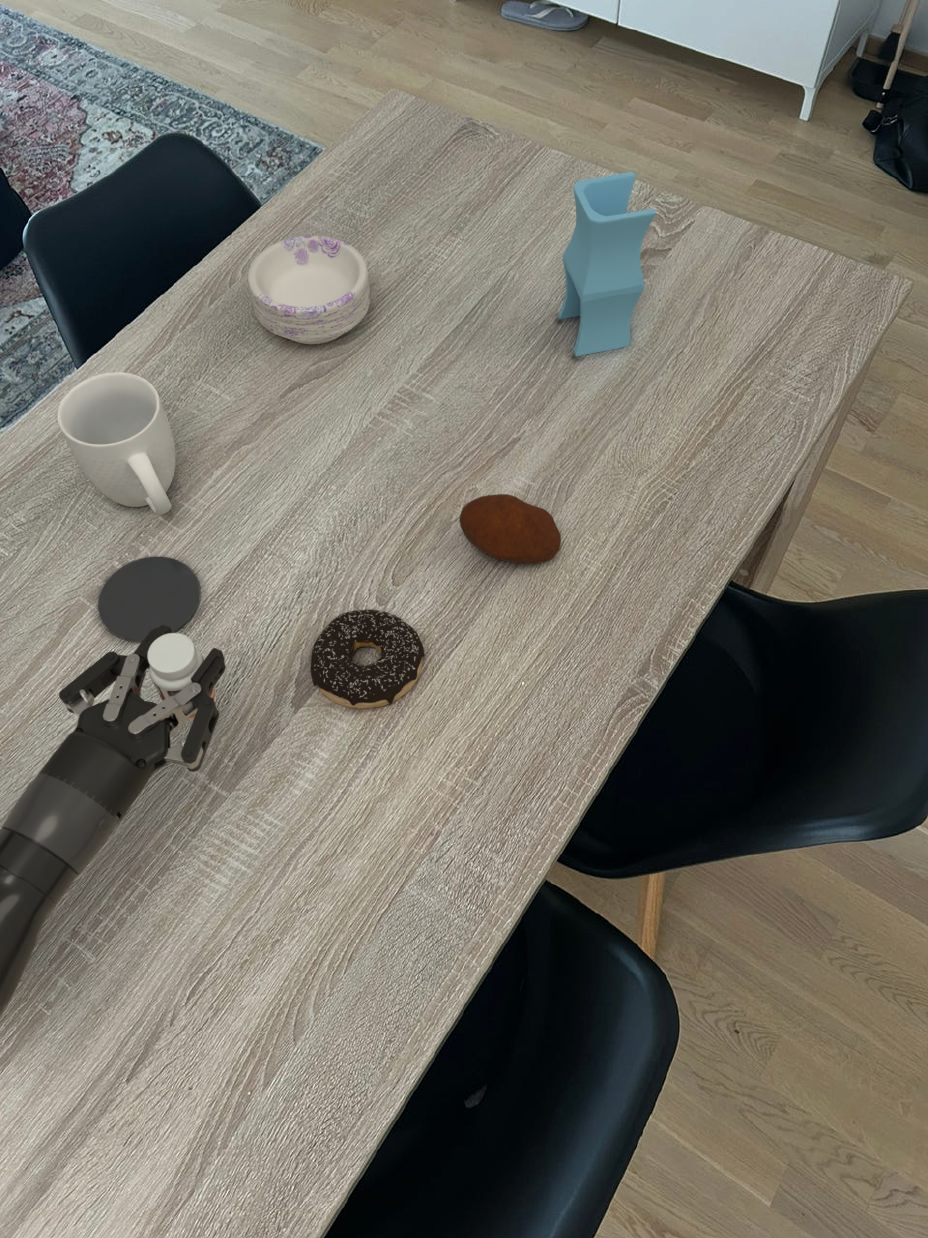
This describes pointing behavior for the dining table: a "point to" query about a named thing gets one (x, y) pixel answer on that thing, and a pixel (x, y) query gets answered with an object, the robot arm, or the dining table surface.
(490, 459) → the dining table surface
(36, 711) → the dining table surface
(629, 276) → the vase
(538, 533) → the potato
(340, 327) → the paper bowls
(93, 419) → the mug
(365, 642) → the donut
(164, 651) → the pill bottle
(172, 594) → the coaster
